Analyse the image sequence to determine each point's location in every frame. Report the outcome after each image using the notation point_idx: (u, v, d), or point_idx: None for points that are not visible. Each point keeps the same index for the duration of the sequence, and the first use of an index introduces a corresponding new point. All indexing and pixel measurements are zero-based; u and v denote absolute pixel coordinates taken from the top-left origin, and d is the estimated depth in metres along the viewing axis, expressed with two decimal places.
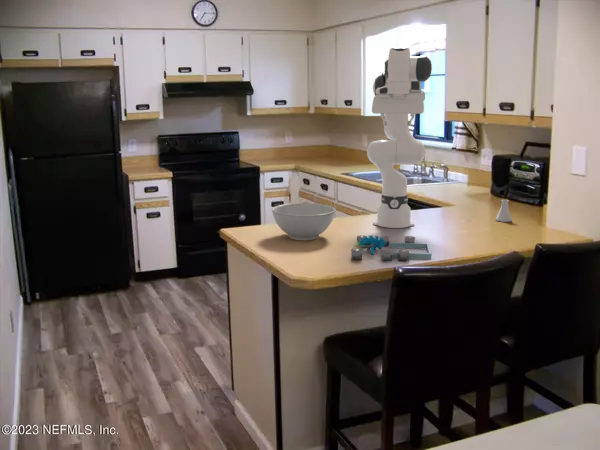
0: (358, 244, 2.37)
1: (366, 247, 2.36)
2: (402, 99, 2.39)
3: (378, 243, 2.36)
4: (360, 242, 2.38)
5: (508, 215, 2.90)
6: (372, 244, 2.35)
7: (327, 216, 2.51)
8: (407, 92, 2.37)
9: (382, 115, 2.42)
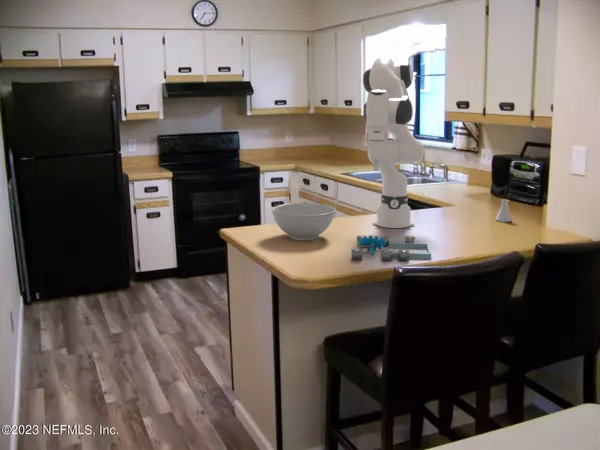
0: (358, 244, 2.37)
1: (366, 247, 2.36)
2: None
3: (378, 243, 2.36)
4: (360, 242, 2.37)
5: (508, 215, 2.90)
6: (372, 244, 2.35)
7: (327, 216, 2.51)
8: None
9: (379, 160, 2.32)
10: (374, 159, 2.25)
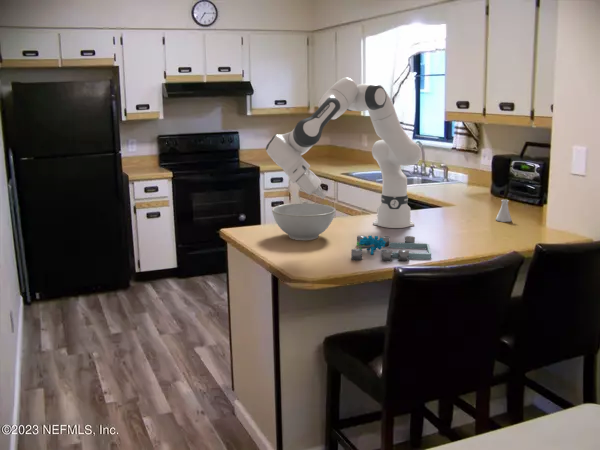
0: (358, 244, 2.37)
1: (366, 247, 2.36)
2: (309, 174, 2.36)
3: (378, 243, 2.36)
4: (360, 242, 2.37)
5: (508, 215, 2.90)
6: (372, 244, 2.35)
7: (327, 216, 2.51)
8: None
9: (318, 188, 2.33)
10: (311, 192, 2.26)
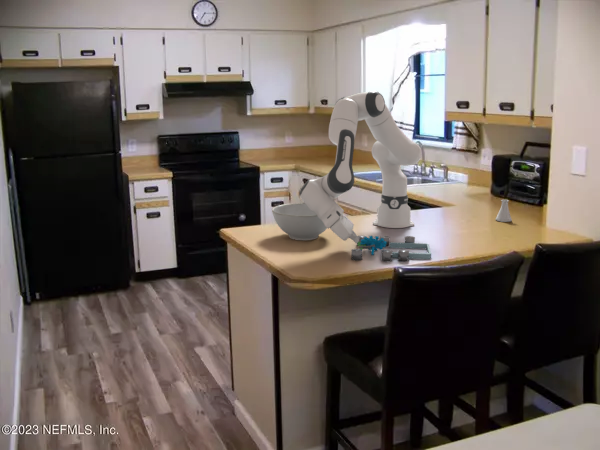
0: (359, 244, 2.36)
1: (366, 247, 2.36)
2: (342, 219, 2.37)
3: (379, 244, 2.35)
4: (361, 242, 2.37)
5: (508, 215, 2.90)
6: (372, 244, 2.35)
7: None
8: None
9: (352, 233, 2.34)
10: (345, 238, 2.27)
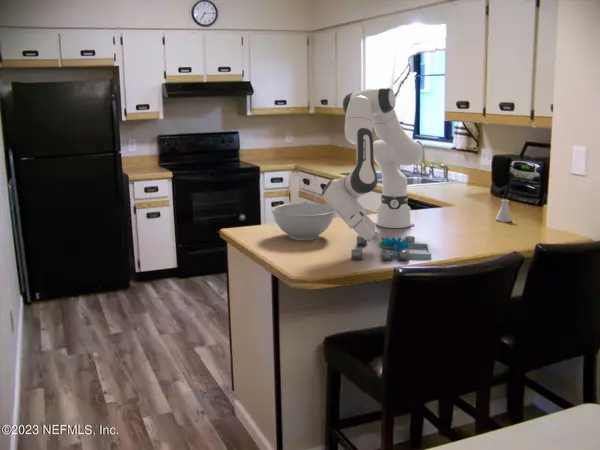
0: (381, 245, 2.35)
1: (389, 248, 2.34)
2: (365, 219, 2.35)
3: (401, 245, 2.33)
4: (383, 243, 2.35)
5: (508, 215, 2.90)
6: (395, 246, 2.33)
7: (327, 216, 2.51)
8: None
9: (375, 233, 2.33)
10: (369, 238, 2.25)
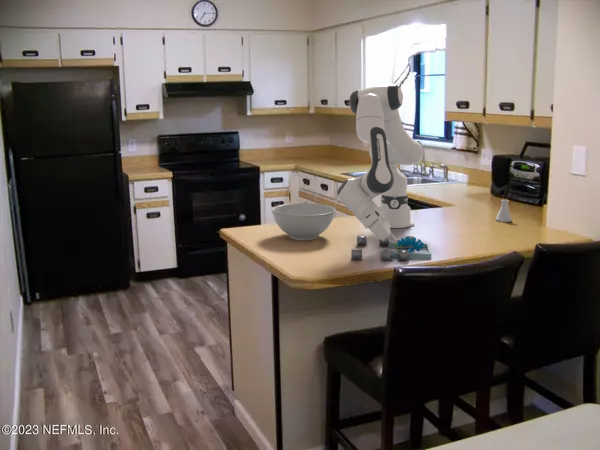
0: (395, 245, 2.35)
1: (403, 248, 2.34)
2: (380, 219, 2.36)
3: (416, 245, 2.33)
4: (398, 243, 2.35)
5: (508, 215, 2.90)
6: (409, 246, 2.33)
7: (327, 216, 2.51)
8: None
9: (390, 233, 2.33)
10: (384, 238, 2.25)
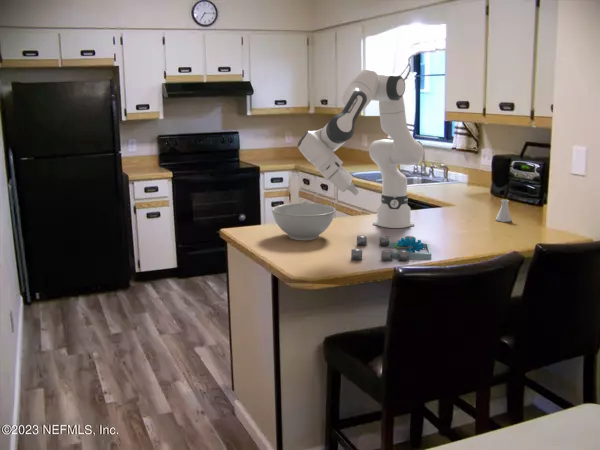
0: (396, 245, 2.35)
1: (403, 249, 2.34)
2: (342, 171, 2.34)
3: (416, 245, 2.33)
4: (398, 243, 2.35)
5: (508, 215, 2.90)
6: (409, 246, 2.32)
7: (327, 216, 2.51)
8: None
9: (351, 185, 2.31)
10: (344, 189, 2.24)
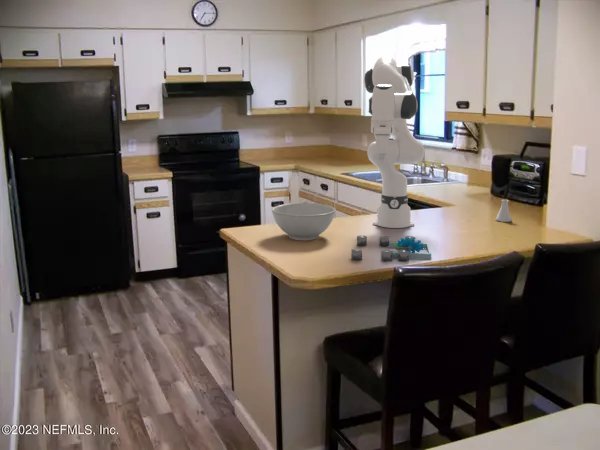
0: (395, 245, 2.35)
1: (403, 249, 2.34)
2: None
3: (416, 246, 2.32)
4: (398, 243, 2.35)
5: (508, 215, 2.90)
6: (409, 246, 2.32)
7: (327, 216, 2.51)
8: None
9: (384, 154, 2.34)
10: (380, 153, 2.26)
